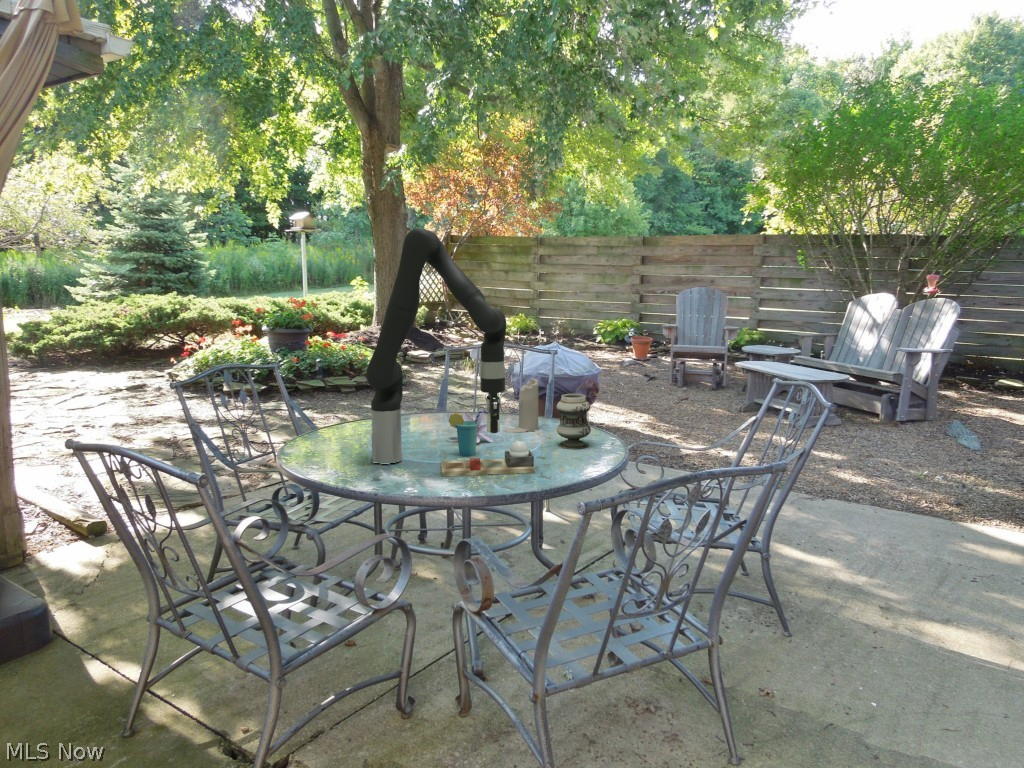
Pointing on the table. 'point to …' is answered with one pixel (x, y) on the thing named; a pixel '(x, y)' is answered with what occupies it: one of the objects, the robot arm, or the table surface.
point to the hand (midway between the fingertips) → (493, 430)
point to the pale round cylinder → (519, 449)
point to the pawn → (489, 423)
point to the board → (489, 466)
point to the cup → (465, 433)
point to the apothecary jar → (573, 420)
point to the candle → (528, 408)
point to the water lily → (479, 427)
